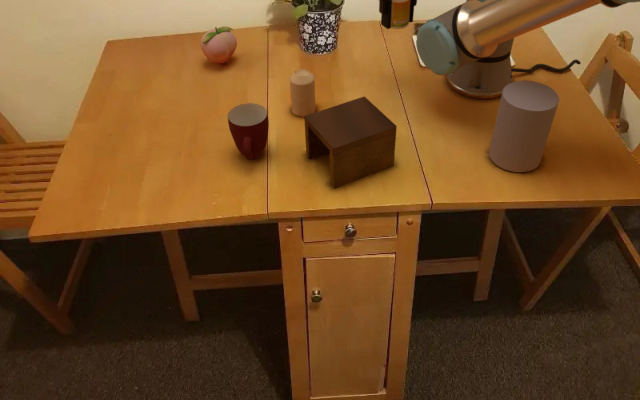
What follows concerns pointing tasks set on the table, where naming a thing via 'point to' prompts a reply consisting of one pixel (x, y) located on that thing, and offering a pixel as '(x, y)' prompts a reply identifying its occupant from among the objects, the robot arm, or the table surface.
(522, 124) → the container
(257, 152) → the mug
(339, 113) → the shelf
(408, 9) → the supplement bottle
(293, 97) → the candle
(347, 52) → the table surface
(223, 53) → the decorative fruit
